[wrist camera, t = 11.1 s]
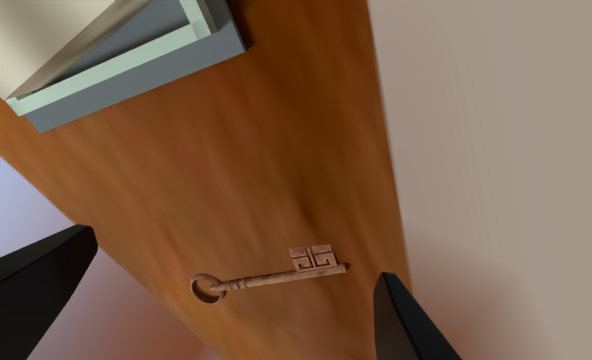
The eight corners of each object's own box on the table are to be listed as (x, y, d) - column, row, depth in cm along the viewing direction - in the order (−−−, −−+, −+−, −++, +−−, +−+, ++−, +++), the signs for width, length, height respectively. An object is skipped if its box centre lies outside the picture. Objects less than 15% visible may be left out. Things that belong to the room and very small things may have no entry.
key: (334, 228, 25) (176, 257, 28) (334, 234, 24) (172, 264, 27) (349, 280, 27) (202, 302, 31) (350, 288, 26) (199, 309, 30)
